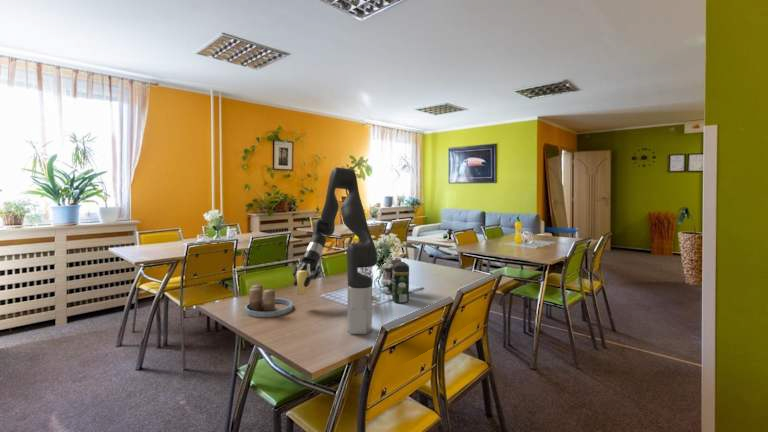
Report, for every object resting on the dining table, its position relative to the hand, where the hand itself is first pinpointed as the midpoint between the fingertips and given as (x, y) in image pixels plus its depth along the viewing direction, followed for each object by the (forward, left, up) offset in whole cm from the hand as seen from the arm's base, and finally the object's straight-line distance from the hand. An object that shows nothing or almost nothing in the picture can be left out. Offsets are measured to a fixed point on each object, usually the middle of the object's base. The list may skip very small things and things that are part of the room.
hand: (300, 285), depth 162 cm
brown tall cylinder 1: (+1, +19, -11) cm, 22 cm away
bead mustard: (+2, 0, -4) cm, 5 cm away
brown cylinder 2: (-7, +12, -11) cm, 17 cm away
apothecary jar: (+30, -40, -11) cm, 51 cm away
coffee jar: (+16, -44, -11) cm, 48 cm away
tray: (-1, +14, -11) cm, 17 cm away
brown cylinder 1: (-5, +18, -11) cm, 22 cm away
